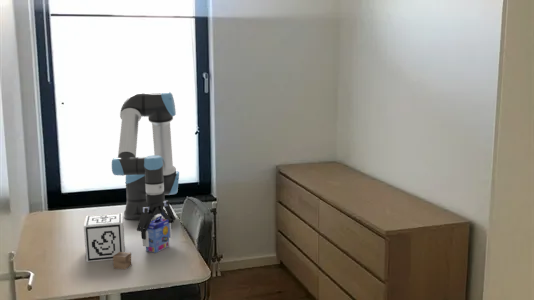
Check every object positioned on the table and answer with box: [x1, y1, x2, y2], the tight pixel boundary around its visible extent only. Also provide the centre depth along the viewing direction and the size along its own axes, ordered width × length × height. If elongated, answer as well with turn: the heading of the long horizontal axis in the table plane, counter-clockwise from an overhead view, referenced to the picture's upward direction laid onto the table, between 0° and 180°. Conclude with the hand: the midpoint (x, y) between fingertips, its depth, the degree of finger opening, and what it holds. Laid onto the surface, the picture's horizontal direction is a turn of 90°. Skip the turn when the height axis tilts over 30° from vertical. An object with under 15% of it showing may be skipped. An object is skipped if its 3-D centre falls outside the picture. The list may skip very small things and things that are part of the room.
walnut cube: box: [112, 251, 132, 270], centre depth 229 cm, size 5×5×5 cm
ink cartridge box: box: [145, 215, 170, 254], centre depth 248 cm, size 10×6×14 cm, turn 152°
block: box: [83, 212, 126, 263], centre depth 243 cm, size 15×15×15 cm
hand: (157, 241), depth 248 cm, fingers open, 13 cm apart
